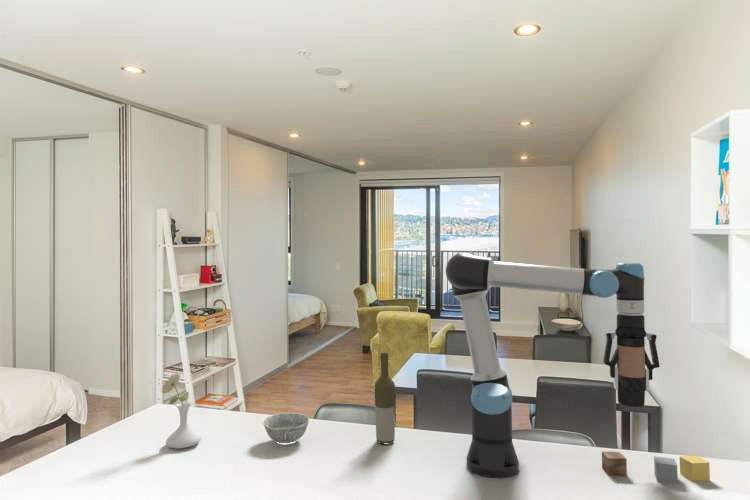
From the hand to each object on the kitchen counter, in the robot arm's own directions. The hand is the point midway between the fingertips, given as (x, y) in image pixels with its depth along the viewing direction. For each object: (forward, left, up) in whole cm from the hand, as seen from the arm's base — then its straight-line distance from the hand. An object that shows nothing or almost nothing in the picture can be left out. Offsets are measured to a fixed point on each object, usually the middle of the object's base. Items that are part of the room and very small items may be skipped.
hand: (631, 389), depth 149 cm
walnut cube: (-7, -9, -22) cm, 25 cm away
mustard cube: (+14, -7, -22) cm, 27 cm away
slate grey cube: (+6, -10, -22) cm, 25 cm away
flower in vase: (-143, -22, -22) cm, 146 cm away
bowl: (-110, -10, -22) cm, 112 cm away
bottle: (-77, -2, -22) cm, 80 cm away
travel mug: (0, 0, -4) cm, 4 cm away
